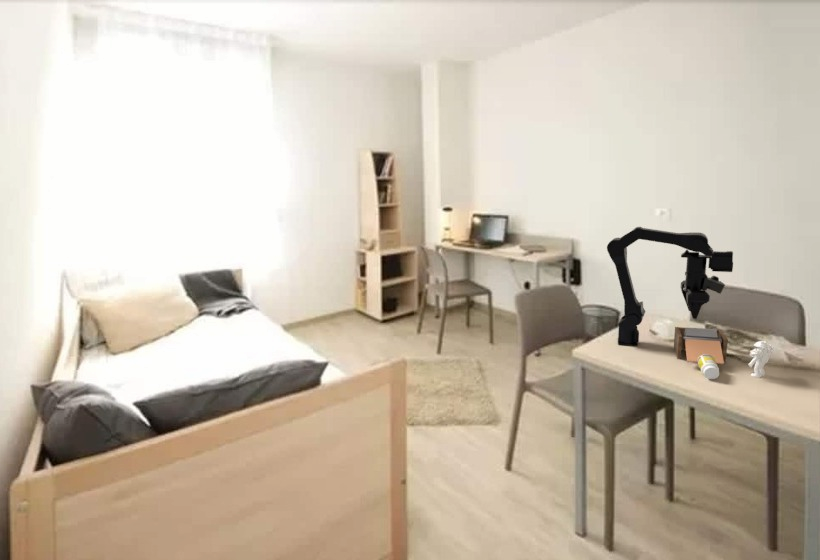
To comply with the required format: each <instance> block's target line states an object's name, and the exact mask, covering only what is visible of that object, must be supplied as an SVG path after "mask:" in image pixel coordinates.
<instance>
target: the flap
mask: <svg viewBox="0 0 820 560" xmlns="http://www.w3.org/2000/svg"><path fill="white" fill-rule="evenodd" d="M684 328H685V333H684V337H683V340H685V346H686V350H685V354H686V362H687V363H695V364H698V362H697V360H698V358H699V357H700V356H701V355H704V354H708V355H711V356H712V357H713V358H714V360H715V362H716V364H717V366H718V365H720V366H723V365H724V364H725V363H724V361H723V355H722V349H721V343H722V339H718V336H717V330H716V328H700V327H684Z"/></svg>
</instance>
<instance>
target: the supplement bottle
mask: <svg viewBox="0 0 820 560" xmlns="http://www.w3.org/2000/svg"><path fill="white" fill-rule="evenodd" d="M697 362H698V363H697V364H698V367H699V369H700V372H701V374H702V375H703V376H704V377H705V378H706V379H708V380H715V379H717V378H718V377H719V376H720V369H719V366H718V364H716V362H715V360H714V358H713V357H712V356H711V355H708V354H704V355H701V356H700V357H699V358H698V360H697Z"/></svg>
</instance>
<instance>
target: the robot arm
mask: <svg viewBox="0 0 820 560" xmlns="http://www.w3.org/2000/svg"><path fill="white" fill-rule="evenodd" d="M638 240H644V241H649V242H656V243H664V244H668V245H675V246H678V247H681V248H682V249H685V251H684V252H682V253H680V257H681V258H683V259H684V258H685V259H686V267H685V268H686V270H685V271H684V276H685V280H683V281H681V282H680V290H681V293H682V296H683V298H684V301H685V304H686V306H687V309H688V312H690V315H691V317H692V319H693V320H694V319H695V320H697V318H698V316H699V313H700V311H701V309H702V306H703V305H705V304H707V303H708V302H710V297H711V296H710V294H709V293H708V292H707V290H710V291H712V292H713V291H714V292H715V293H717V294H722V292H723V290H724V288H725V286H726V285H725V283H724V282H722V280H721V281H720V280H719V279H720V278H719V277H718V276H717V275H712V276H711V277H709V276H708V275H707V274H706V273H707V272H706V271H707V261H708V269H710V270H711V272H718V273H719V272H720V273H733V269H734V261H733V258H734V257H733V256H734V252H733V251H731V250H727V251H719V250H718V251H717V250H715V251H714V249H713V247H711V245H710V244H709V239H708V236H707V235H706V234H705V233H703V232H672V231H667V230H658V229H653V228H647V227H642V226H636V227H635V228H633V229H632V230H631V231H629V232H628V233H626V234H624V235H623V236H621V237H615V238H613V239H611V240H610V241H609V242H608V244H607V246H606V250H607V253H608V255H609V257H610V259H611V261H612V262H613V264H614V266H615V269H616V273H617V277H618V278H617V279H618V280H619V285H620V288H621V289H620V290H621V292H622V293H621V294H622V296H623V300H624V307H623V308H624V309H623V310H624V314H623V316H621V318H620V320H619V322H618V324H617V325H618V333H617V345H619V346H620V345H622V346H634V347H637V346H638V344H639V342H640V341H639V340H640V339H639V338H640V332H639V331H640V330H639V329H638V326H639V325H640V324H641V323H642V321H643V319H644V316H645V314H646V310H645V308H644V302H643V301H639V300H638V299H637V297H636V292H635V289H634V288H635V287H634V285H633V280H632V277H631V272H630V268H629V265H628V249H627V248H629V246H631V245H632V244H633V243H635V242H637V241H638ZM700 253H701V254H700ZM707 259H708V260H707Z"/></svg>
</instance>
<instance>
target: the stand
mask: <svg viewBox="0 0 820 560" xmlns="http://www.w3.org/2000/svg"><path fill="white" fill-rule="evenodd" d="M685 328H686V327H684V326H683V327H682V326H680V327H679V326H674V334H673V336H674V337H673V352H674V353H675V356H676V359H677V360H681V357H682V356H681V355H682V351H686V346H685V340H683V337H684V333H685ZM715 329H716V328H715ZM716 330H717V336H718V339H722V343H721V349H722V355H723V361H724V364H725V363H726V362H727V351H728V344H729V343H728V341H729V339H728V338H727V336H726V334H725V333H724V332H723V330H722V329H718V328H717V329H716Z"/></svg>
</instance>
